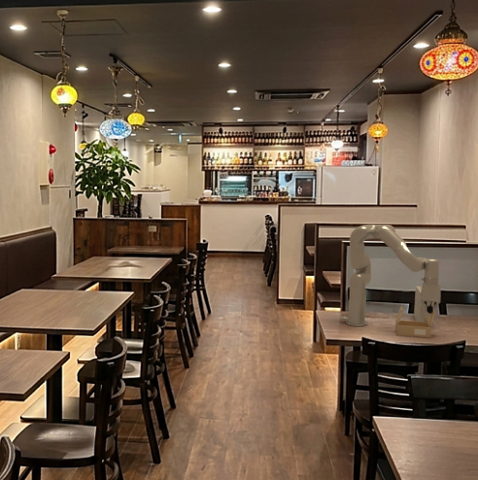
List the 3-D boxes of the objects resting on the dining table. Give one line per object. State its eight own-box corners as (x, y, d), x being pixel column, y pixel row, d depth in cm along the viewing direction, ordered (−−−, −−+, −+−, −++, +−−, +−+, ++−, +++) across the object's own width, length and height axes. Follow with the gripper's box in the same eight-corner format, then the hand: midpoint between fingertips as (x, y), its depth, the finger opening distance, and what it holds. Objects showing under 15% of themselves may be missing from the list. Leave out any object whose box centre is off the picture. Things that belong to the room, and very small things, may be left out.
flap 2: (430, 325, 295) (434, 311, 294) (427, 320, 305) (431, 307, 304) (431, 325, 295) (435, 312, 294) (428, 321, 305) (432, 307, 304)
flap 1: (398, 323, 298) (402, 309, 297) (396, 318, 309) (400, 305, 307) (398, 323, 298) (403, 310, 297) (397, 319, 309) (401, 306, 307)
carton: (397, 335, 298) (397, 325, 298) (395, 330, 310) (395, 319, 309) (430, 338, 295) (431, 327, 294) (427, 332, 307) (428, 322, 306)
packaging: (430, 329, 315) (432, 295, 313) (420, 328, 316) (422, 295, 314) (423, 317, 344) (425, 286, 342) (413, 316, 345) (415, 285, 343)
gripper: (418, 281, 296) (416, 313, 297) (446, 282, 293) (444, 315, 294) (416, 279, 303) (414, 310, 305) (444, 280, 300) (442, 312, 302)
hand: (429, 313), depth 299 cm, fingers closed
